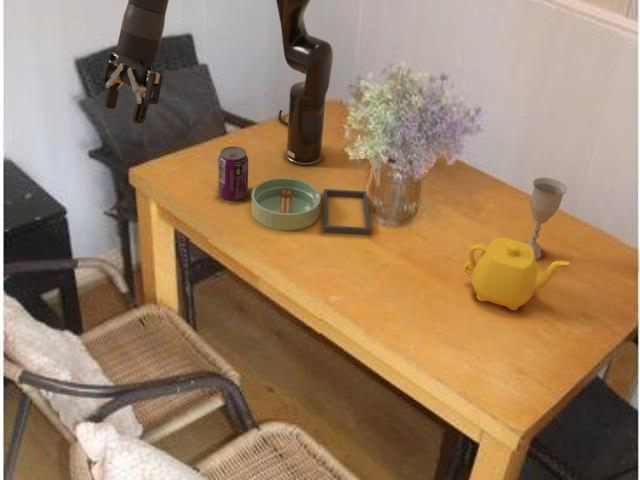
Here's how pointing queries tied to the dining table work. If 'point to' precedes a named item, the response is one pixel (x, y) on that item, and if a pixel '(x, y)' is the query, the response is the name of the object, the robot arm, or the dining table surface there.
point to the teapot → (507, 272)
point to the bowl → (269, 204)
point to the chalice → (544, 206)
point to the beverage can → (233, 173)
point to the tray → (345, 228)
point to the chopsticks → (285, 201)
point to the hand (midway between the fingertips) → (123, 115)
